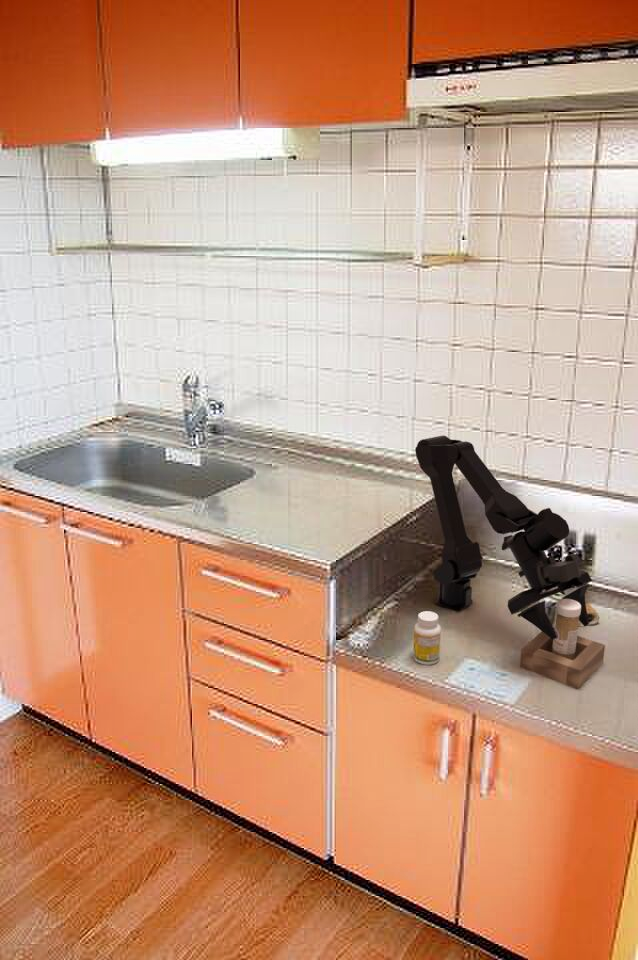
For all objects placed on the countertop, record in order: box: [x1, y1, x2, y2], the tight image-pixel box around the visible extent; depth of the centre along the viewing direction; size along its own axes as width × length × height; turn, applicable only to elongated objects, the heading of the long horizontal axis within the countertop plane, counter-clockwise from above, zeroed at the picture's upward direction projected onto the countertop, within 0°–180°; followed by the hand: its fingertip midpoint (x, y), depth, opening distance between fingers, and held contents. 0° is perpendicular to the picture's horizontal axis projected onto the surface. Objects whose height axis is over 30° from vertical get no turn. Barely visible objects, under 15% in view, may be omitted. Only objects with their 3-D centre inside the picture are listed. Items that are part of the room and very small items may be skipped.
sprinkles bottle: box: [552, 598, 581, 660], centre depth 155 cm, size 5×5×14 cm
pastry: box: [578, 603, 600, 628], centre depth 175 cm, size 9×7×4 cm
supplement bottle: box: [412, 610, 442, 666], centre depth 157 cm, size 5×5×10 cm
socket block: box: [519, 627, 606, 690], centre depth 156 cm, size 12×12×4 cm
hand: (571, 631), depth 153 cm, fingers open, 9 cm apart
